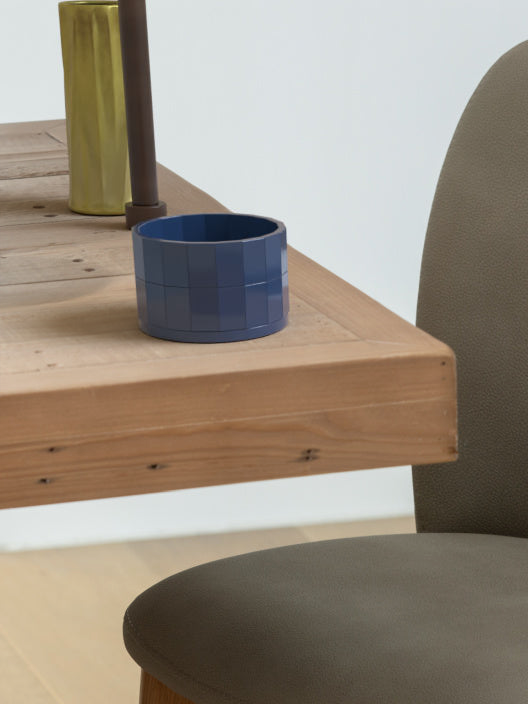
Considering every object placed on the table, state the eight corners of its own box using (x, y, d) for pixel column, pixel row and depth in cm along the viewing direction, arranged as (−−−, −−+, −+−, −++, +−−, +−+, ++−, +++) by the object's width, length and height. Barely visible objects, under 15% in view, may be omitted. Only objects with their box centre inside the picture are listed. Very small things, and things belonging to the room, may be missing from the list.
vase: (66, 217, 110) (48, 5, 105) (70, 200, 115) (53, -1, 110) (154, 214, 111) (141, 5, 106) (154, 199, 117) (141, -1, 111)
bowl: (252, 348, 80) (247, 248, 78) (110, 334, 82) (102, 236, 80) (312, 311, 87) (309, 218, 85) (180, 299, 89) (174, 208, 87)
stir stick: (155, 231, 106) (140, -3, 100) (118, 228, 106) (101, -5, 101) (174, 224, 108) (160, -6, 103) (138, 221, 109) (122, -7, 103)
